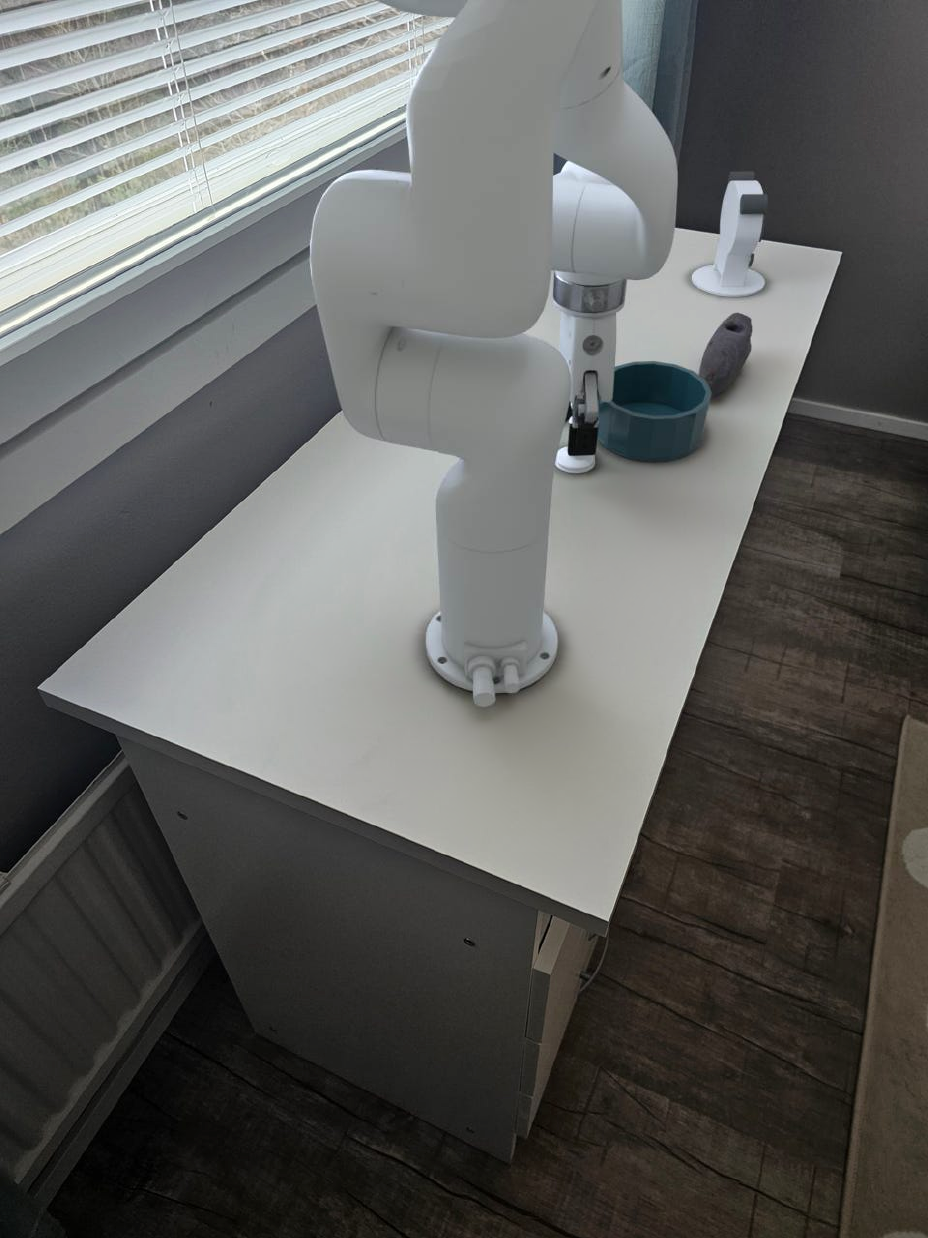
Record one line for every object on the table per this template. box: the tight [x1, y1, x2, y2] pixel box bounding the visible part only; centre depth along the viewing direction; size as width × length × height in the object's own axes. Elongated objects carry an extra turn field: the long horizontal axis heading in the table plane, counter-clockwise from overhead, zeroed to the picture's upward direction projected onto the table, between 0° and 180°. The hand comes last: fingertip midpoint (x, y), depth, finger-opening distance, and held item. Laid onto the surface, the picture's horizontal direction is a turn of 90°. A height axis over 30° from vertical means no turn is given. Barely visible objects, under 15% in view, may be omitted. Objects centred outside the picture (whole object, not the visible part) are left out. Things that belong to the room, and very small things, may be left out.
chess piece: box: [555, 393, 596, 474], centre depth 103 cm, size 5×5×10 cm
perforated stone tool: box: [698, 312, 753, 398], centre depth 117 cm, size 15×5×7 cm, turn 150°
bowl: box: [597, 360, 712, 463], centre depth 109 cm, size 13×13×6 cm
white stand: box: [691, 171, 769, 298], centre depth 136 cm, size 12×11×15 cm
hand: (576, 434), depth 104 cm, fingers open, 7 cm apart
